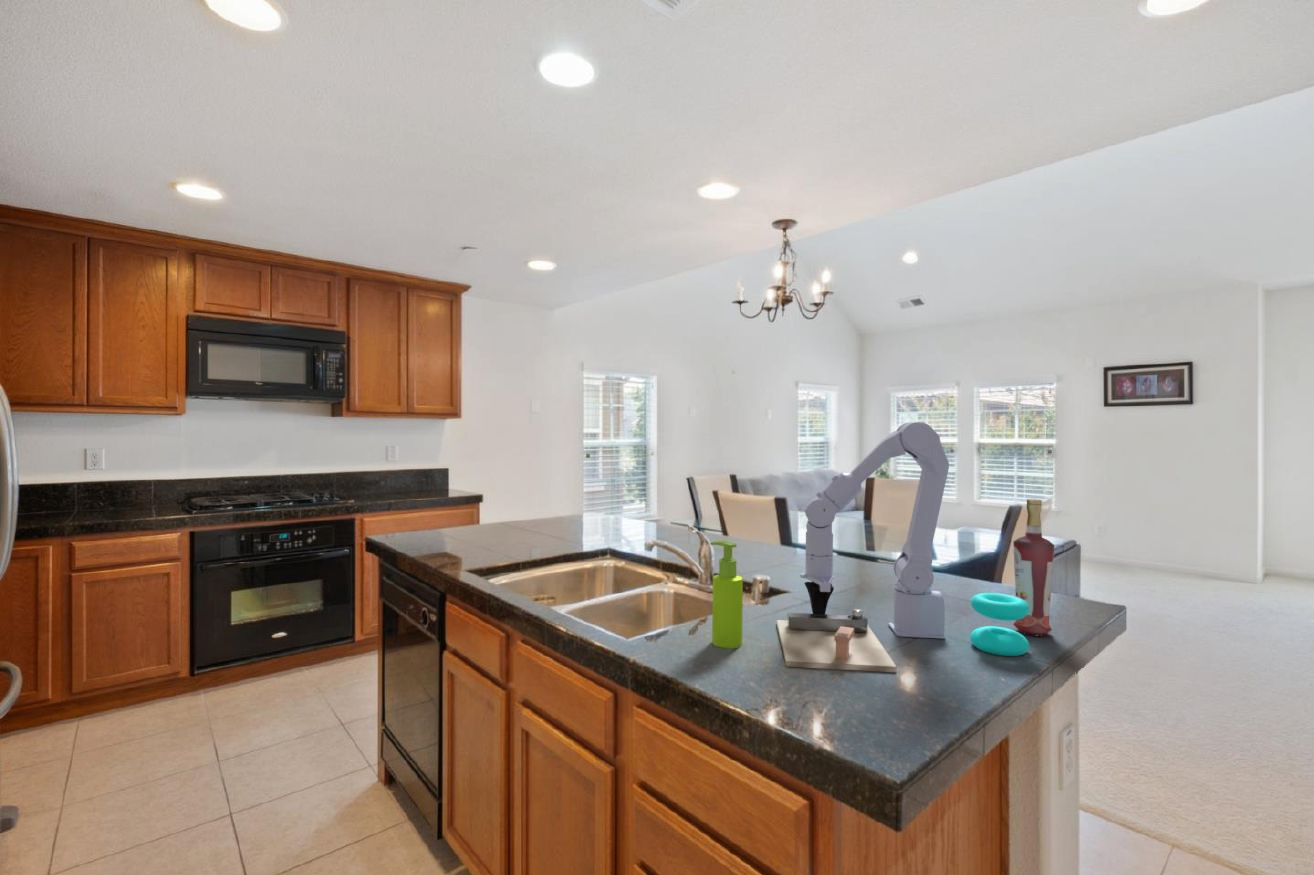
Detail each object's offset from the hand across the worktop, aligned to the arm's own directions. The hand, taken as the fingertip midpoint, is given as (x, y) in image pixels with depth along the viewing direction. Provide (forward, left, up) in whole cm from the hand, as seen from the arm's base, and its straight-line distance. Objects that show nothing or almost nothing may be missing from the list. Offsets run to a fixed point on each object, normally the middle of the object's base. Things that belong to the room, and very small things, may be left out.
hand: (818, 616), depth 134 cm
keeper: (-2, +19, -1) cm, 19 cm away
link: (-1, +6, -1) cm, 6 cm away
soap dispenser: (+20, +14, -2) cm, 24 cm away
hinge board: (0, +13, -2) cm, 13 cm away
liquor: (-44, -1, -2) cm, 44 cm away
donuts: (-33, +10, -2) cm, 34 cm away
